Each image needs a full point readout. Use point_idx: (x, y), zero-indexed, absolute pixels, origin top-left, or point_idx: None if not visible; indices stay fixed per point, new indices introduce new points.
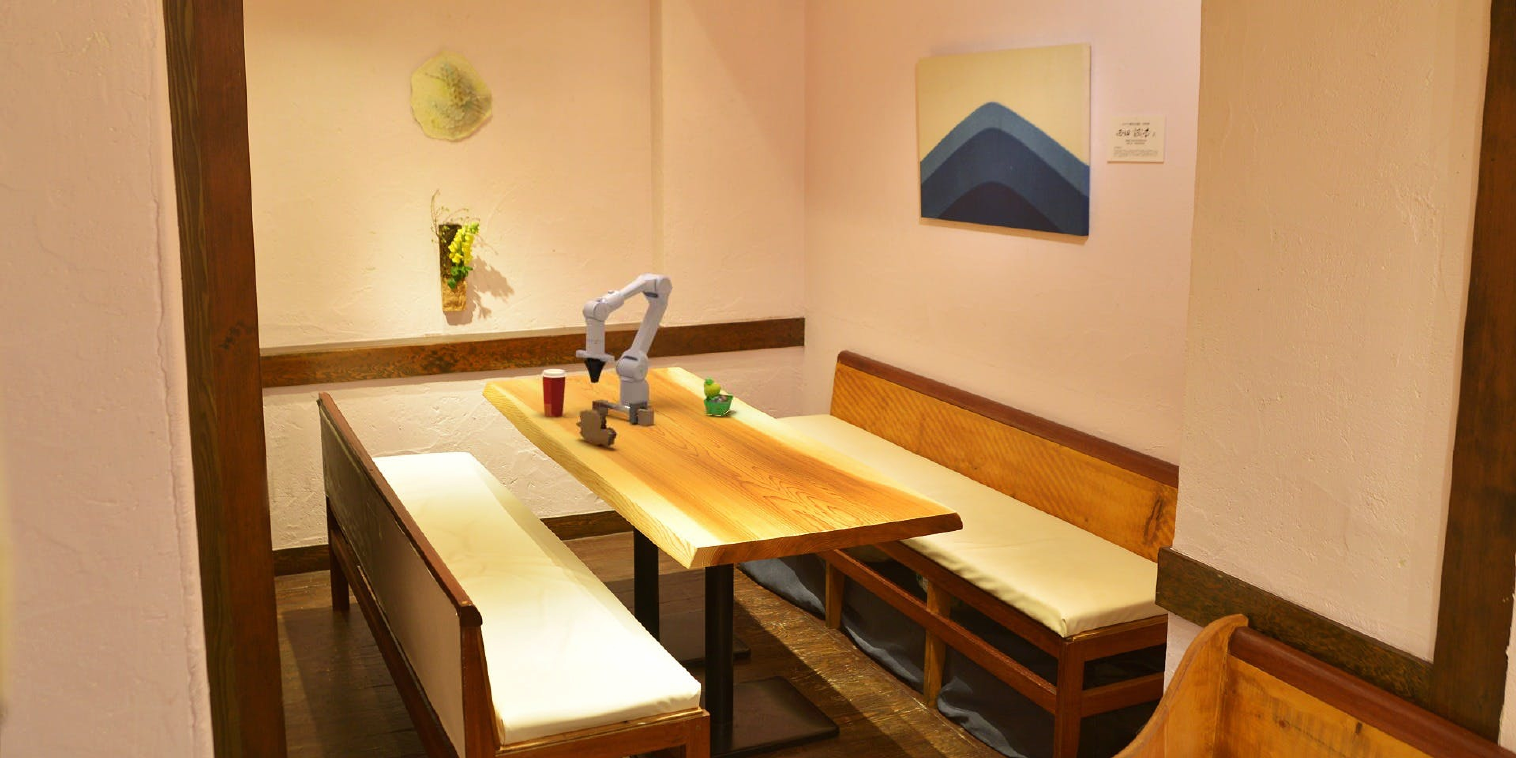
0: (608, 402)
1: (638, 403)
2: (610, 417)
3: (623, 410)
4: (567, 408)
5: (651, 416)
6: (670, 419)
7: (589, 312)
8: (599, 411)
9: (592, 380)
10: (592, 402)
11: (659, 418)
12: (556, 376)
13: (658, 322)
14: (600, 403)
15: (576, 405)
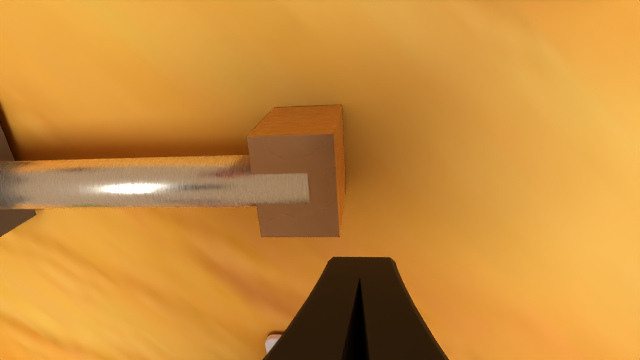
0: (194, 186)
1: None
2: (204, 138)
3: (43, 160)
4: (630, 112)
5: None
6: (15, 318)
7: None
8: (266, 118)
9: (349, 270)
10: (332, 129)
11: (54, 301)
12: None
13: None
14: (250, 146)
15: (628, 225)
